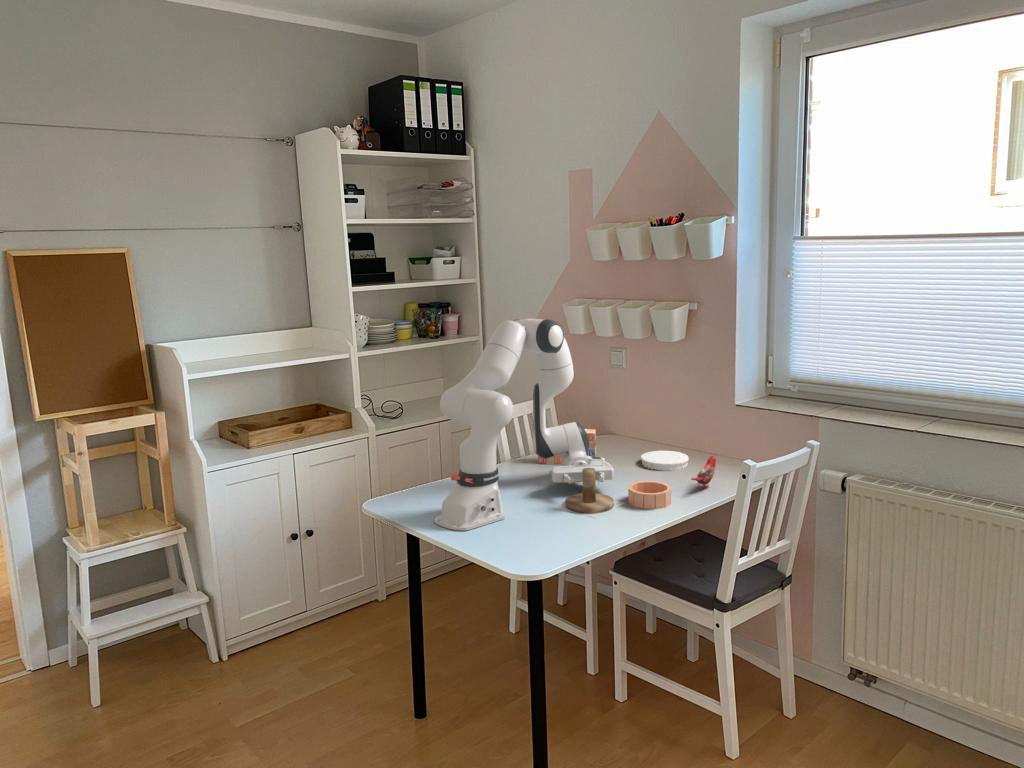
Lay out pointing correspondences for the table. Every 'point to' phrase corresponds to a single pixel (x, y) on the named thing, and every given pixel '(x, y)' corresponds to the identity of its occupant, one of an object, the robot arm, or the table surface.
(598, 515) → the rubber mat
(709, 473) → the decorative bird figurine
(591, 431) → the stack of blocks
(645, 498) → the terracotta bowl
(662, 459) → the lid
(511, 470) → the table surface
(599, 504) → the walnut lid
